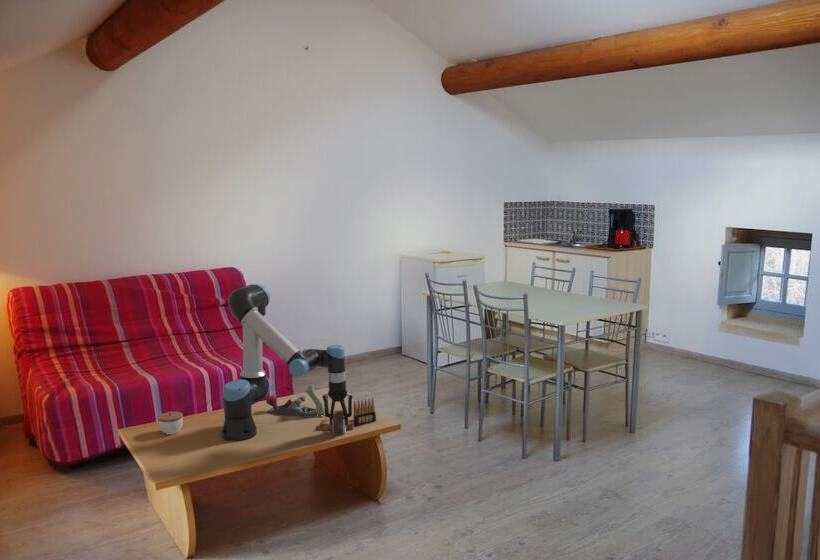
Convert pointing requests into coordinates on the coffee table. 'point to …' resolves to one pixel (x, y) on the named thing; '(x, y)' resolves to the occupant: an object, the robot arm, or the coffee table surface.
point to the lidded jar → (170, 422)
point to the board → (326, 425)
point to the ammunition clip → (364, 412)
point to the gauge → (338, 422)
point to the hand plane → (298, 405)
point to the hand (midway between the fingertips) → (339, 431)
